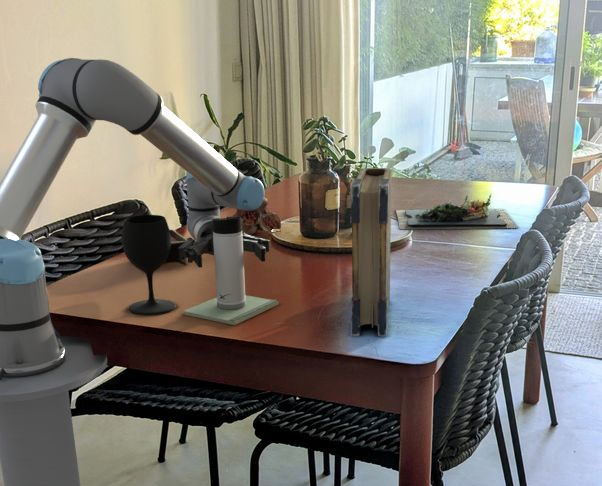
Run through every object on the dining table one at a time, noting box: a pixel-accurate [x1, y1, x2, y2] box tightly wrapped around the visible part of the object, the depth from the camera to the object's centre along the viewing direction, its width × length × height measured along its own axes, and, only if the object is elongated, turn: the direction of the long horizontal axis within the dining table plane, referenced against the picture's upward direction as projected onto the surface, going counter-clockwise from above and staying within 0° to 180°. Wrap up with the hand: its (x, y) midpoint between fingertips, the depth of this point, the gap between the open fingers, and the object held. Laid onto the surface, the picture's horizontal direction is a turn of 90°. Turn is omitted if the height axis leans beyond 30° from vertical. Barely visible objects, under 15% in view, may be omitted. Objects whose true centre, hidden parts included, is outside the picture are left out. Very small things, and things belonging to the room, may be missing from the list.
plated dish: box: [395, 193, 518, 230], centre depth 267 cm, size 35×28×7 cm
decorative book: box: [349, 167, 392, 338], centre depth 177 cm, size 23×7×30 cm, turn 172°
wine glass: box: [121, 214, 177, 316], centre depth 188 cm, size 10×10×20 cm
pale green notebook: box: [182, 294, 280, 326], centre depth 189 cm, size 16×14×1 cm
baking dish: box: [164, 229, 187, 266], centre depth 226 cm, size 14×18×10 cm
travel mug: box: [212, 216, 246, 310], centre depth 185 cm, size 6×7×20 cm
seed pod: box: [232, 197, 282, 236], centre depth 253 cm, size 13×16×15 cm
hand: (231, 258), depth 182 cm, fingers open, 13 cm apart
